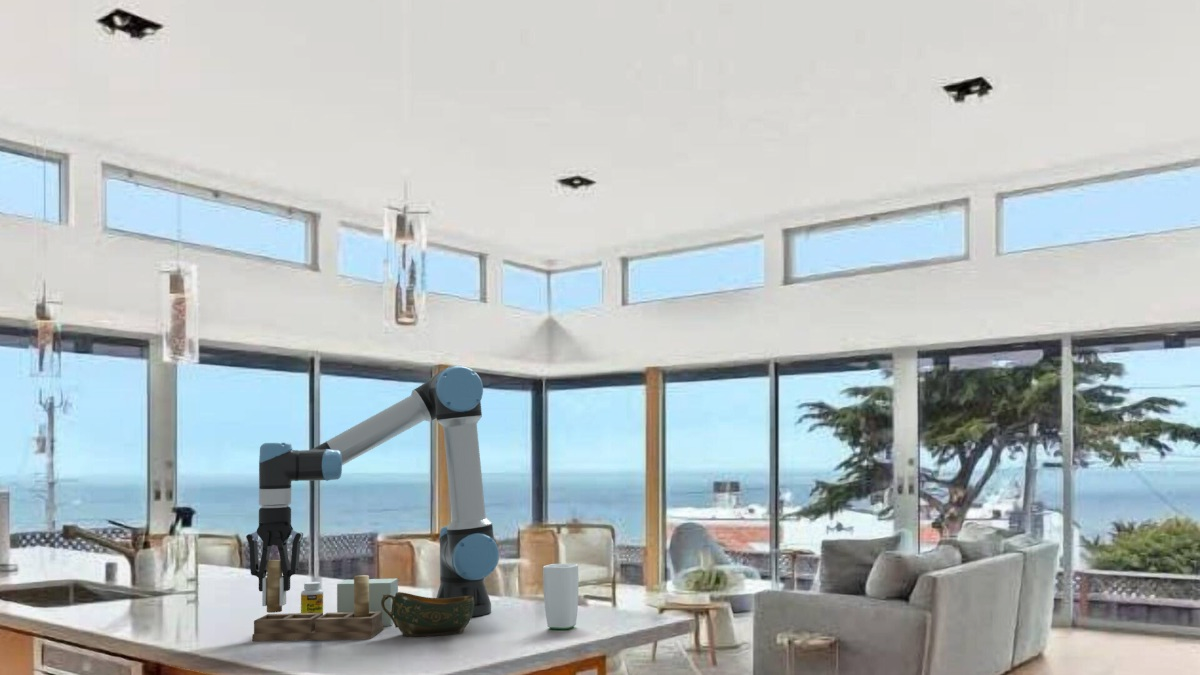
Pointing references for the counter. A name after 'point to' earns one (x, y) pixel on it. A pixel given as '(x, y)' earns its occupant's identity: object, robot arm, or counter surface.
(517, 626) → the counter surface
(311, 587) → the supplement bottle
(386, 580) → the pale green boxy piece
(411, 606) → the green gravy boat
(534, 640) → the counter surface
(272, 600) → the peg
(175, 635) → the counter surface
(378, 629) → the wooden compartment tray
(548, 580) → the cup
